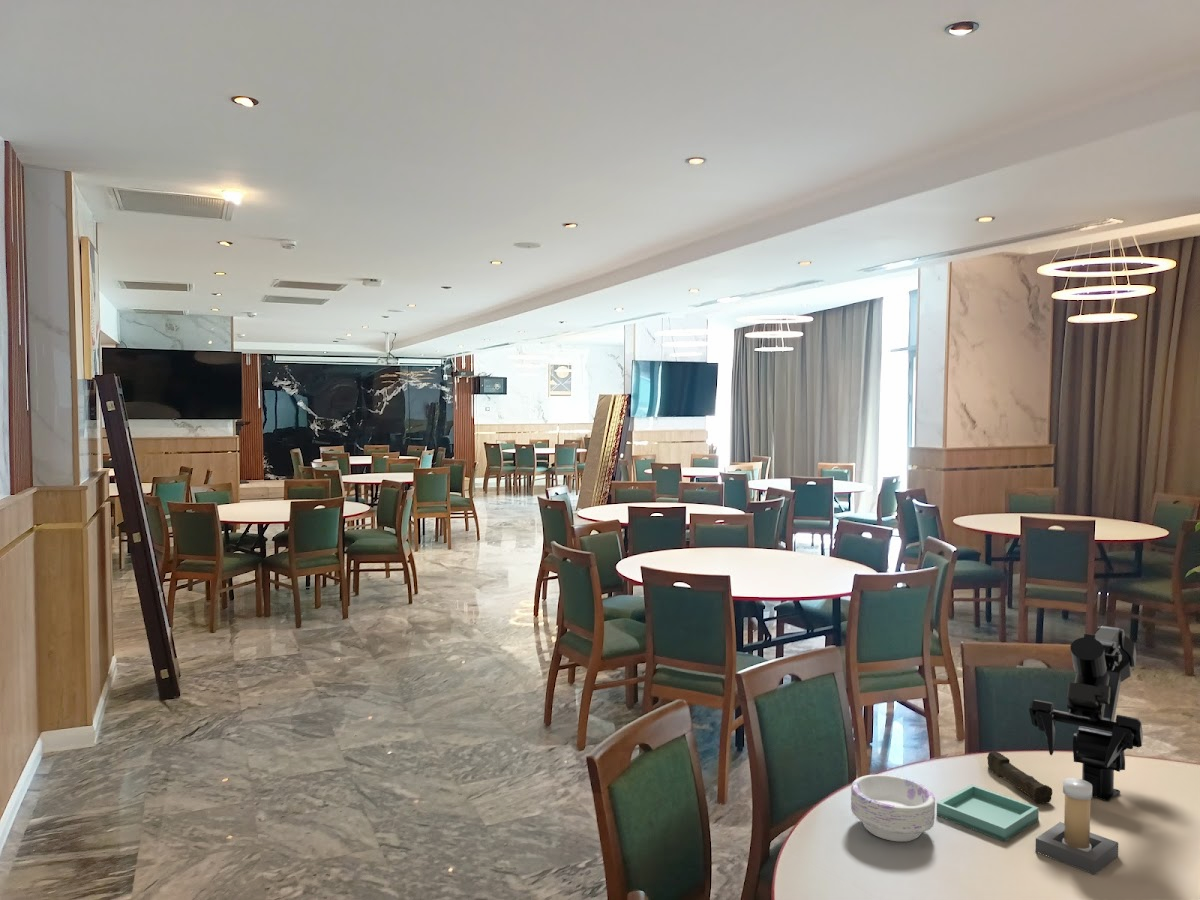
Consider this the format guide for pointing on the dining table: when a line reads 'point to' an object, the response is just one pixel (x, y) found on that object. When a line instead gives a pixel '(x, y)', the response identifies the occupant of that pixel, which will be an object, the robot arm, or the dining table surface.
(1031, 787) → the dark brown rod
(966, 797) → the parts tray
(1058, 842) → the frame
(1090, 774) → the robot arm
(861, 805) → the paper bowls
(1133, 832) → the dining table surface
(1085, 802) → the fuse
